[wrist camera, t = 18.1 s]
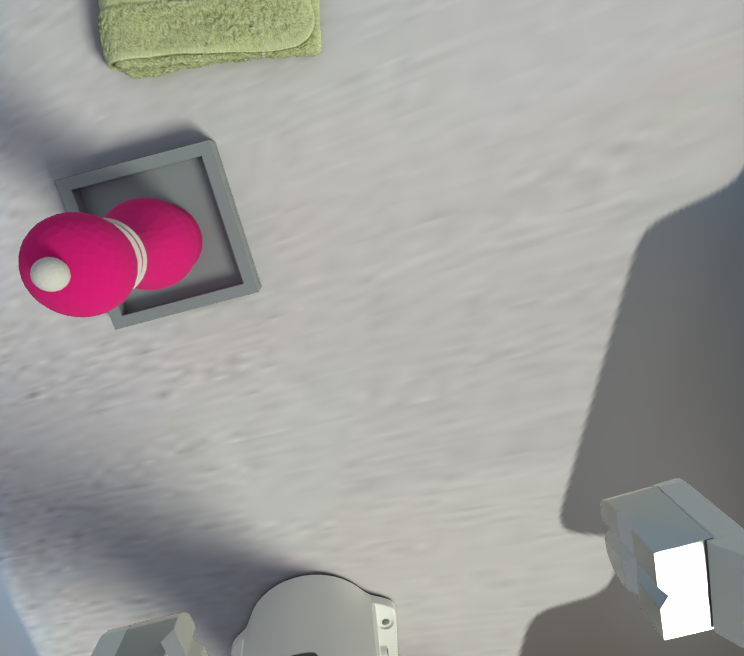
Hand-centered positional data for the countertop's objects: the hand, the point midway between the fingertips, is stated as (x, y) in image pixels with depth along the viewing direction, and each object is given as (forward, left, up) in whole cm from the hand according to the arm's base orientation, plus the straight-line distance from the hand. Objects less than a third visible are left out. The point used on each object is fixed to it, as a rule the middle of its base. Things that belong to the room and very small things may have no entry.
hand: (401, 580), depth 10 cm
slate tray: (+7, +14, -39) cm, 42 cm away
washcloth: (+25, +5, -40) cm, 47 cm away
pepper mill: (+7, +14, -38) cm, 42 cm away
